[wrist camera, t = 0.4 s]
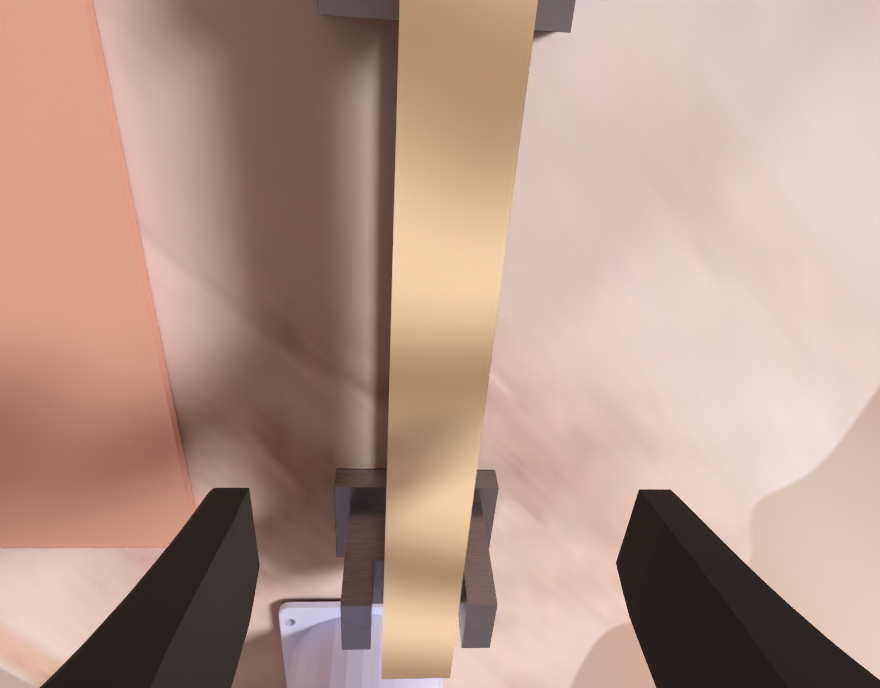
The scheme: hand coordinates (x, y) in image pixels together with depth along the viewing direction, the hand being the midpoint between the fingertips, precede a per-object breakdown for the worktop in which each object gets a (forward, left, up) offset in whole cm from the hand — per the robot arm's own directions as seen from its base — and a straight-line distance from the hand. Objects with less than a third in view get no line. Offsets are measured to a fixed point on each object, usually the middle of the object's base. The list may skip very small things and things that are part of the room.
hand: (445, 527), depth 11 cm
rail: (0, 0, -7) cm, 7 cm away
